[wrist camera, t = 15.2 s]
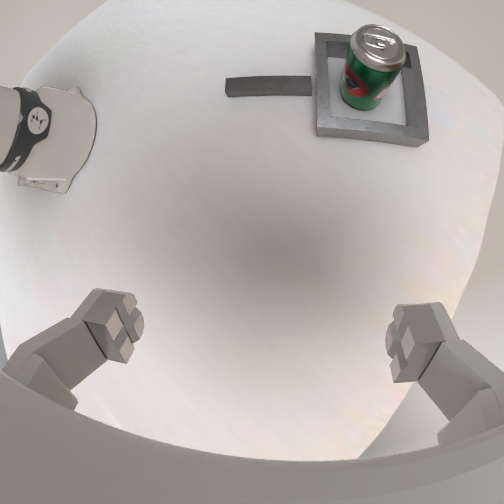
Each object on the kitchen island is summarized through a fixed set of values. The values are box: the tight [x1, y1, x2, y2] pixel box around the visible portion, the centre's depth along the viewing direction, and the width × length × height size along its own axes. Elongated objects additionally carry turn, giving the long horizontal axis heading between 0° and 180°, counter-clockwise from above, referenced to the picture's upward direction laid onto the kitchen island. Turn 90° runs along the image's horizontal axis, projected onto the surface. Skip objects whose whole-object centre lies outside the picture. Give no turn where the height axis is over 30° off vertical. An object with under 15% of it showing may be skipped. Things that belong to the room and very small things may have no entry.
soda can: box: [340, 24, 406, 110], centre depth 22 cm, size 5×5×12 cm
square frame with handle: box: [225, 33, 429, 147], centre depth 27 cm, size 23×12×4 cm, turn 89°
